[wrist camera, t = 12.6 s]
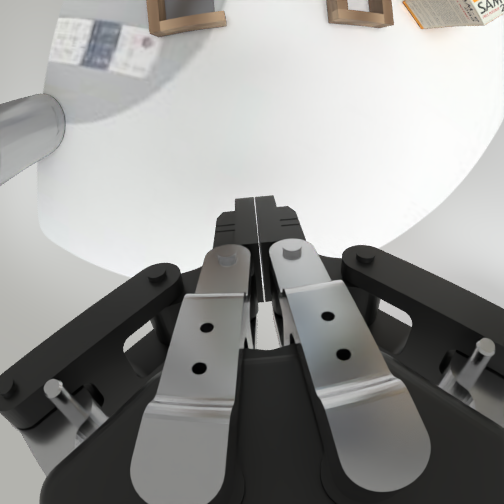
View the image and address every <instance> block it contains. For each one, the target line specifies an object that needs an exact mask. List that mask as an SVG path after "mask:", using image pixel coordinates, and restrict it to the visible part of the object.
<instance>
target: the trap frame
mask: <svg viewBox="0 0 504 504" xmlns="http://www.w3.org/2000/svg"><path fill="white" fill-rule="evenodd" d="M369 9H370V12H364V11H355V10H348V3H347V0H327V10H328V20H329V23H334V24H348V25H359V26H368V27H376V28H382V27H387V26H391V25H394V21H393V11H392V2H391V0H369ZM147 11H148V22H149V32H150V34H152V35H155V36H157V37H162V36H166V35H171V34H176V33H182V32H188V31H194V30H200V29H207V28H214V27H223V26H226V17H225V13H224V11H218V12H214V2H213V0H147Z"/></svg>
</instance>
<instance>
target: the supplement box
mask: <svg viewBox="0 0 504 504" xmlns="http://www.w3.org/2000/svg"><path fill="white" fill-rule="evenodd" d="M403 3H404V4H405V6H406V7H407V9H408V10H409V11H410V13H411V14H412V16H413V17H414V19H415V20H416V22H417V23H418V25H419V26H420V28H421V29H428V28H439V27H453V26H484V25H486V24H488V23H489V22H491V21H493V20H494V19H496V18H497V17H499V16H501V15H503V14H504V0H405V1H403Z"/></svg>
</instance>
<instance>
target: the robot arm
mask: <svg viewBox="0 0 504 504" xmlns="http://www.w3.org/2000/svg"><path fill="white" fill-rule="evenodd" d="M64 131H65V119H64V114H63V111H62V109H61V107H60V105H59V103H58V102H57V101H56V100H55V99H54V98H53V97H51V96H49V95H47V94H36V95H33V96H28V97H24V98H20V99H17V100H13V101H10V102H6V103H3V104H0V186H1V185H2V184H4V183H5V182H7V181H8V180H9V179H11V178H12V177H14V176H15V175H17V174H18V173H20V172H21V171H23V170H24V169H26V168H28V167H29V166H31V165H32V164H34V163H36V162H37V161H39V160H41V159H42V158H44V157H46V156H47V155H49V154H51V153H52V152H53V151H55V150H56V149H57V147H58V146H59V144H60V143H61V140H62V138H63V135H64ZM255 202H256V213H257V224H258V233H257V224H256V215H255V206H254V197H250V198H240V199H235V211H230V212H223V213H222V214H221V215H220V216H219V217H218V218H217V221H216V229H215V237H214V245H213V249H212V250H211V251H209V252H208V253H207V254H206V256H205V259H204V262H203V266H201V267H200V268H197V269H195V270H192V271H189V272H185V273H182V274H181V272H180V269H179V268H178V267H177V266H176V265H174V264H171V263H159V264H155V265H152V266H149V267H147V268H145V269H144V270H142V271H141V272H139V273H138V274H136V275H135V276H134V277H132V278H131V279H129V280H128V281H126V282H125V283H123V284H122V285H121V286H119V287H118V288H117V289H115V290H114V291H112V292H111V293H109V294H108V295H107V296H105V297H104V298H102V299H101V300H99V301H98V302H97V303H95V304H94V305H92V306H91V307H90V308H88V309H87V310H85V311H84V312H83V313H81V314H80V315H79V316H77V317H76V318H75V319H73V320H72V321H71V322H69V323H68V324H66V325H65V326H64V327H62V328H61V329H60V330H58V331H57V332H56V333H54V334H53V335H52V336H50V337H49V338H48V339H46V340H45V341H44V342H42V343H41V344H40V345H38V346H37V347H36V348H34V349H33V350H32V351H30V352H29V353H28V354H27V355H25V356H24V357H23V358H21V359H20V360H19V361H18V362H16V363H15V364H14V365H13V366H11V367H10V368H9V369H8V370H6V371H5V372H4V373H2V374H1V375H0V413H1V414H2V415H3V416H4V417H5V418H6V419H7V420H8V421H9V422H10V423H11V425H12V426H13V427H14V428H15V429H17V430H18V431H19V432H20V433H21V434H22V436H23V438H24V439H25V441H26V443H27V445H28V446H29V448H30V450H31V452H32V454H33V455H34V457H35V458H36V460H37V462H38V464H39V465H40V467H41V468H42V470H43V471H44V473H45V475H46V476H47V477H46V479H45V481H44V483H43V486H42V489H41V493H40V504H504V309H503V308H501V307H499V306H497V305H495V304H493V303H491V302H489V301H487V300H485V299H483V298H482V297H479V296H477V295H476V294H474V293H471V292H470V291H467V290H465V289H463V288H461V287H459V286H457V285H455V284H453V283H451V282H449V281H447V280H445V279H443V278H441V277H439V276H436V275H434V274H432V273H430V272H428V271H426V270H424V269H422V268H419V267H417V266H415V265H413V264H411V263H409V262H406V261H404V260H402V259H400V258H397V257H395V256H393V255H391V254H389V253H386V252H384V251H382V250H380V249H377V248H375V247H372V246H367V245H357V246H352V247H349V248H347V249H346V250H345V251H344V252H343V254H342V259H341V258H331V257H325V256H322V255H319V254H318V253H317V252H316V250H315V248H314V246H313V245H312V244H311V243H309V242H307V241H306V239H305V236H304V234H303V231H302V228H301V225H300V223H299V220H298V217H297V214H296V212H295V211H294V210H293V209H291V208H290V207H288V206H284V207H276V203H275V199H274V196H273V195H272V196H261V197H255ZM258 236H259V243H258ZM259 246H260V254H259ZM260 255H261V264H262V273H263V282H264V290H265V300H266V302H268V301H272V306H273V319H274V324H275V328H276V332H277V336H278V341H279V345H280V348H277V349H274V350H258V349H256V348H257V313H258V302H264V300H263V289H262V277H261V265H260ZM380 299H382V300H384V301H386V302H388V303H390V304H392V305H393V306H395V307H397V308H399V309H401V310H403V311H404V312H406V313H407V314H408V315H409V316H410V318H411V320H412V327H410V326H408V325H407V324H404V323H403V322H401V321H399V320H397V319H395V318H394V317H392V316H390V315H388V314H386V313H385V312H383V311H381V310H379V309H378V308H379V303H380ZM149 320H150V321H151V323H152V325H153V328H154V329H153V330H152V331H151V332H149V333H148V334H147V335H146V336H144V337H143V338H142V339H141V340H140V341H138V342H137V343H136V344H135V345H133V346H132V347H131V348H130V349H129V350H127V351H126V352H125V353H124V352H123V346H124V343H125V341H126V339H127V338H128V337H129V336H130V335H132V334H133V333H134V332H135V331H137V330H138V329H139V328H140V327H142V326H143V325H144V324H146V323H147V322H148V321H149Z"/></svg>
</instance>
